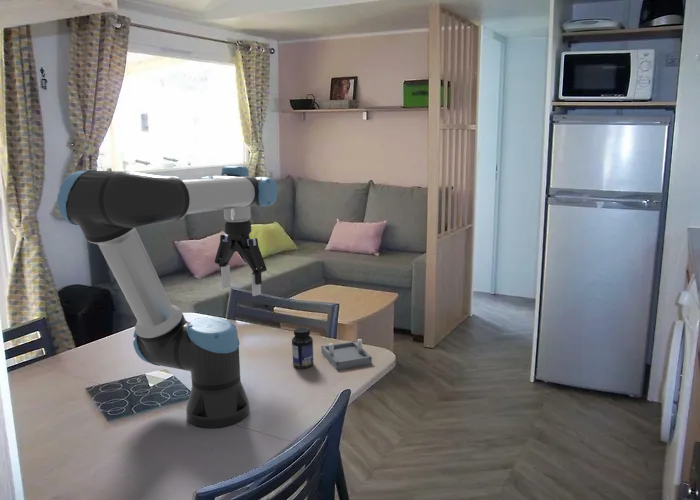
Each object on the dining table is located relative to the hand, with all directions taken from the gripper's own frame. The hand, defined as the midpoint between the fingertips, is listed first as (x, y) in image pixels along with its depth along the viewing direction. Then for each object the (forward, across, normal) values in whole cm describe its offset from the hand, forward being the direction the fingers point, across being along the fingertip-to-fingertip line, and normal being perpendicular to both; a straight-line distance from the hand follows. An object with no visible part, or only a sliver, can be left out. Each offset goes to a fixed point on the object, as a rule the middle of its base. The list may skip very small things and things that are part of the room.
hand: (241, 291), depth 176 cm
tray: (+22, -23, -20) cm, 37 cm away
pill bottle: (+22, -16, -8) cm, 29 cm away
